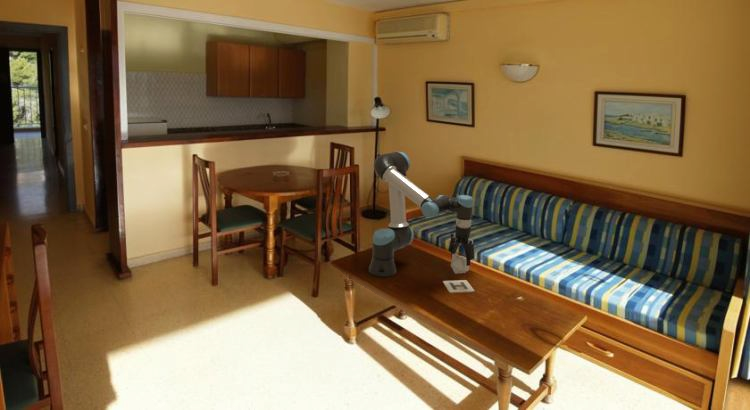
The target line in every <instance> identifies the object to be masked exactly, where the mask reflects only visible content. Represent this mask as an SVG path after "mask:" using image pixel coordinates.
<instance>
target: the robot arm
mask: <svg viewBox="0 0 750 410" xmlns="http://www.w3.org/2000/svg"><path fill="white" fill-rule="evenodd" d="M410 167H411V161H410V158H409V156H408V155H407V154H406V153H405V152H402V151H393V152H389V153H383V154H380V155H378V156H377V157H376V158H375V160H374V162H373V170H374V172H375V174H376V176H377V177H378V178H379V179H380V180H382V181H383V182H385V183H387V182H388V193H389V194H388V195H389V211H390V212H389V213H390V223H388V228H386V227H385V228H379V229H377V230H375V231H374V233H372V234H373V237H372V257H371V262H370V264H369V266H368V272H369V274H370V275H373V276H375V277H379V278H380V277H381V278H385V277H386V278H387V277H392V276H394V275H396V274H397V266H396V264H395V259H394V257H395V256H394V255H395V253H394V252H395V251H398V250H400V249H403V248H406V247H407V246H409V245H411V244H412V242H413V240H414V237H415V233H414V231H413V230H412V227H411V226H410V223H409V222H407V215H406V213H407V212H406V197H407V198H408V199H409V200H410V201H411V202H412V203H414V204H415V205H416V206H418V207H419V208H420V210H421V213H422V216H424V217H425V218H432V217H433V218H434V217H436V216H439V215H441V214H445V213H447V212H449V213H453V214H456V219H455V231H454V233H451V234H450V242H449V246H448V251H449V252H450V253H451V254H450V255H451V256H450V257H451V261H452V260H453V258H454V257H458V253H457V250H458V248H459V247H460V244H461V245H462V247H463V249H464V254H465V266H464V271H465V272H469V271H470V266H471V261H472V260H474V259H475V247H474V245H475V239H471V238H470V235H471V230H472V229H471V226H472V218H473V214H472V213H473V207H474V200H473V197H472V195H471V196H470V195H466V194H460V195H458V196H457V197H453V196H449V195H447V194H439V195H438V196H437V197H436V199H434V198H433V196H430V195H429V194H428V193H426V192H425V191H424V190H422V189H421V188H420V187H419V186H417V185H416V183H414V182H412V181H411V180H410V179H409V178H408V177H407V172H408V171H409V169H410Z"/></svg>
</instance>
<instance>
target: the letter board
mask: <svg viewBox="0 0 750 410" xmlns="http://www.w3.org/2000/svg"><path fill="white" fill-rule="evenodd" d="M442 283H443V284H444V286H445V288H446V290H447V291H448V292H449V293H450V294H456V293H457V294H458V293H459V294H460V293H476V292H475V289H474V287H472V285H471V284H470V283H469V282H468V280H466V279H463V280H462V279H459V280H442Z"/></svg>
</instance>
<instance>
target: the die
mask: <svg viewBox="0 0 750 410" xmlns="http://www.w3.org/2000/svg"><path fill="white" fill-rule="evenodd" d="M465 259H466V256H463V255H461V256H457V257H454V258H453V260H452V259H451V263H450V267H451V269H452V270H453V271H452V272H454V274H466V272H467V271H466V272H465V271H464V266H465Z"/></svg>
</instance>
